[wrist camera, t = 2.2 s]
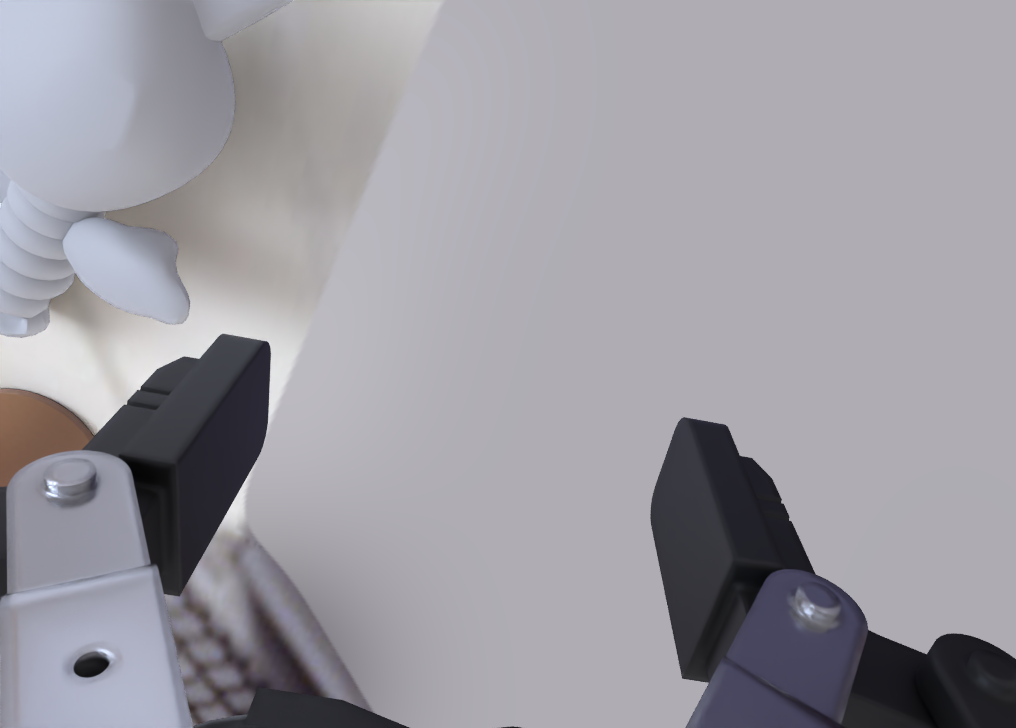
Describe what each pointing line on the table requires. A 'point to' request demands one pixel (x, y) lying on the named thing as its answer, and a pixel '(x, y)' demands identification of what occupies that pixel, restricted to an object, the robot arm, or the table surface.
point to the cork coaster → (35, 430)
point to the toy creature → (105, 143)
